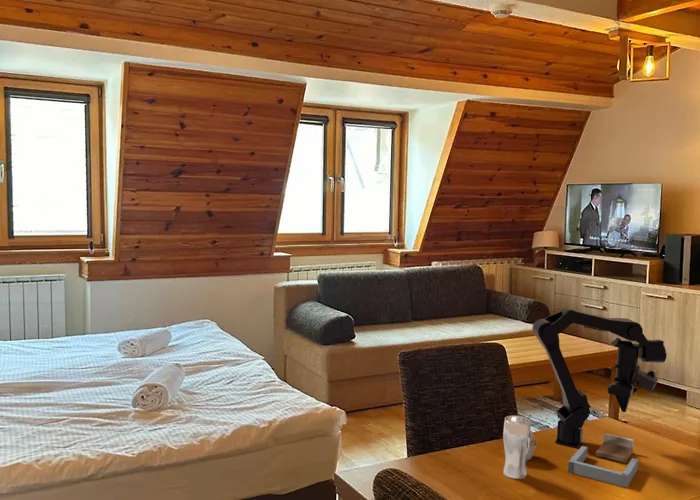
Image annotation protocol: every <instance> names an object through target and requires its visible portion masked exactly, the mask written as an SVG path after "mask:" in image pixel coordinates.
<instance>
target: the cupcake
mask: <svg viewBox="0 0 700 500" xmlns="http://www.w3.org/2000/svg"><path fill="white" fill-rule="evenodd" d="M537 446H538V441H537V440H536V439H535V434H534V433H533V431H532V430H531V429H530V444H529V449H528V453H527V457H526V462H528V461H531V459H532V458H533V455H534V451H535V449H536V447H537Z"/></svg>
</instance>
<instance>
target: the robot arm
mask: <svg viewBox="0 0 700 500" xmlns="http://www.w3.org/2000/svg"><path fill="white" fill-rule="evenodd" d="M573 324H575V325H581V326H584V327H587V328H588V327H589V328H592V329H598V330H600V331H601V330H602V331H606V332H609V333H612V334H614V335H616V336H618V337H616V338H615V339H614V340H613V341H611V342H610V345H612V346H613V347H615V348H617V352H616V353H617V356H616V357H617V358H616V363H615V364H614V368H615V369H616V372H615V377H613V378H614V379H613V381H614V382H612V383H611V384H609V385H608V386H607V387H608V388H607V394H609V395H614V396H615V399H616V401H617V403H618V405H619V408H620V410H621V412H622V413H626V412H627V410H628V407H629V404H630V400H631V398H632V396H634V395H635V394H636V393H637V391H638V389H639V388H637V387H634V386H636V385H638V386H640V387H642V388H644V389H646V390H647V391H649V392H652V391H653V390H654V388H655V387H656V385H657V383H658V381H659V379H658V377H656V376H657V375H656V373H657V372H655V371H653V370H648V371H647V372H646V371H642V370H641V366H640V365H639V364H638V363H639V359H640V360H641V362H643V363H657V364H658V363H660V364H662V363H665V361H666V359H667V356H668V353H667V351H666V347H665V345H664V343H665V342H664V341H663V340H661V339H648V338H647V337H646V335H645V334H644V333H643V332H644V330H643V326H642V325H641V324H640V323H638V322H636V321H634V320H632V319H630V318H627V317H625V318H623V317H605V316H600V315H597V314H592V313H588V312H583V311H579V310H576V309H572V308H570V307H565V308H563V309H561V310H559V311H558V312H556V313H553V314H551V315H548V316H547V317H545V318H539V319H537V320H535V321H534V322H533V325H532V332H533V334H534V336H535V337H536V339H537V340H538V342H539V343H540V344H541V346H542V348H544V350H545V352H546V355H547V357H548V359H549V362H550V364H551V366H552V369H553V371H554V375H555V377H556V379H557V381H558V384H559V386H560V389H561V393H562V396H561V398H562V403H563V405H561V407H560V408H558V409H557V410H556V412H555V413H556V416H557V419H559V420H558V421H557V428H556V429H557V431H556V432H557V433H556V439H555V440H554V443H556V444H559V445H564V446H567V447H571V448H576V449H577V448H578V447H579V446H580V445H581V444H582V443H583V438H584V437H583V435H584V433H583V432H584V429H583V426H584V424H585V422H586V420H587V419H588V418H589V416H590V415H591V410H590V409H592V406H591V405H590V404H589V401H588V397H587V395H586V394H585V393H584V392H583V391H582V390H581V389H577V387H576V384H575V382H574V380H573V378H572V375H571V373H570V370H569V368H568V364H567V363H566V360H565V357H564V356H563V355H564V354H563V353H562V351H561V348H560V337H559V334H560V333H562V332H564V331H565V330H566V329H567V328H568V327H570V326H571V325H573ZM619 337H621V338H623V339H625V340H622V339H620V338H619ZM633 342H636V343H633Z"/></svg>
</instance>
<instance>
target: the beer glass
mask: <svg viewBox="0 0 700 500" xmlns="http://www.w3.org/2000/svg"><path fill="white" fill-rule="evenodd" d="M530 430H531V420H530V419H529V418H527V417H525V416H520V415H508V416H505V417H504V423H503V433H502V439H503V440H502V441H503V448H504V456H505V458H504V459H505V461H504V466H503V470H502V473H503V475H504V476H505V477H507V478H510V479H512V480H523V479H525V478H527V476H528V475H527V474H528V473H527V465H526V462H527V461H526V457H527V453H528V449H529V444H530Z"/></svg>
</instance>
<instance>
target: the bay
mask: <svg viewBox="0 0 700 500" xmlns="http://www.w3.org/2000/svg"><path fill="white" fill-rule="evenodd" d="M587 458H588V446H584V445H581V446H580V448H579V449H578V450H577V451H576V452H575V453H574V454H573V456H572V457H571V458H570V459H569V460H568V463H567V472H568V473H571V474H575V475H579V476H582V477H586V478H590V479H593V480H597V481H600V482H601V481H602V482H605V483H607V484H612V485H616V486H620V487H623V488H628V487H629V485H630V483H631V482H632V480H633V478H634V476H635V475H636V474H637V471H638V470H639V469H638V467H639V459H638V458H633V457H632V458H631V459H630V461H629V462H628V464H627V466H626V468H624V471H623V472H621V471H618V470H613V469H609V468H605V467H600V466H598V465H593V464H590V463H585V462H584V461H585V460H587Z"/></svg>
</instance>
